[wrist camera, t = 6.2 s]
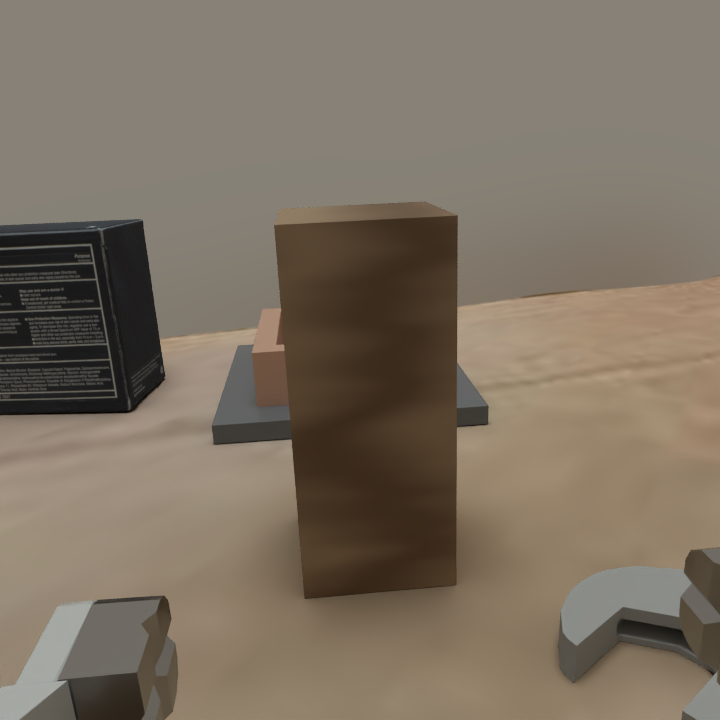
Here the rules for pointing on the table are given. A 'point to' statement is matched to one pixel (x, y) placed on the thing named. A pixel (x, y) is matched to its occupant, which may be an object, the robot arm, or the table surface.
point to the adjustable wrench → (630, 624)
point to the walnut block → (372, 392)
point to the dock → (270, 392)
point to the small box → (76, 318)
